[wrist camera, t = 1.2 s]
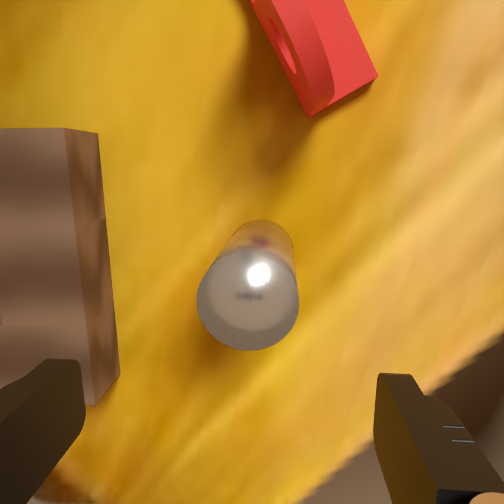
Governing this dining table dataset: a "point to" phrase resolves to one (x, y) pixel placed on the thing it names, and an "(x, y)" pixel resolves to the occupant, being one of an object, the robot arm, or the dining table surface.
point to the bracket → (316, 49)
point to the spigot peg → (251, 288)
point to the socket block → (55, 257)
